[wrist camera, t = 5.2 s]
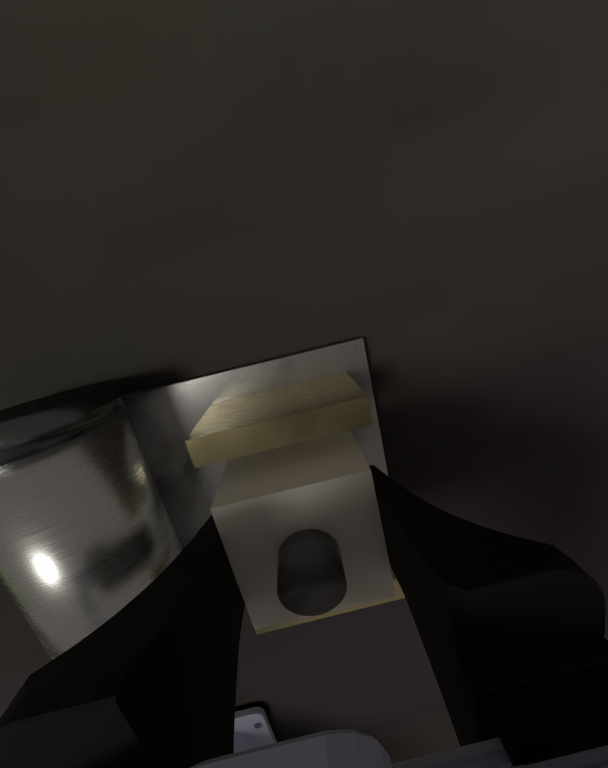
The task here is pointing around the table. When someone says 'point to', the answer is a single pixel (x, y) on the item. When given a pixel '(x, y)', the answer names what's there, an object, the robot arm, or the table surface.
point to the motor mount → (152, 476)
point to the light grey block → (303, 530)
